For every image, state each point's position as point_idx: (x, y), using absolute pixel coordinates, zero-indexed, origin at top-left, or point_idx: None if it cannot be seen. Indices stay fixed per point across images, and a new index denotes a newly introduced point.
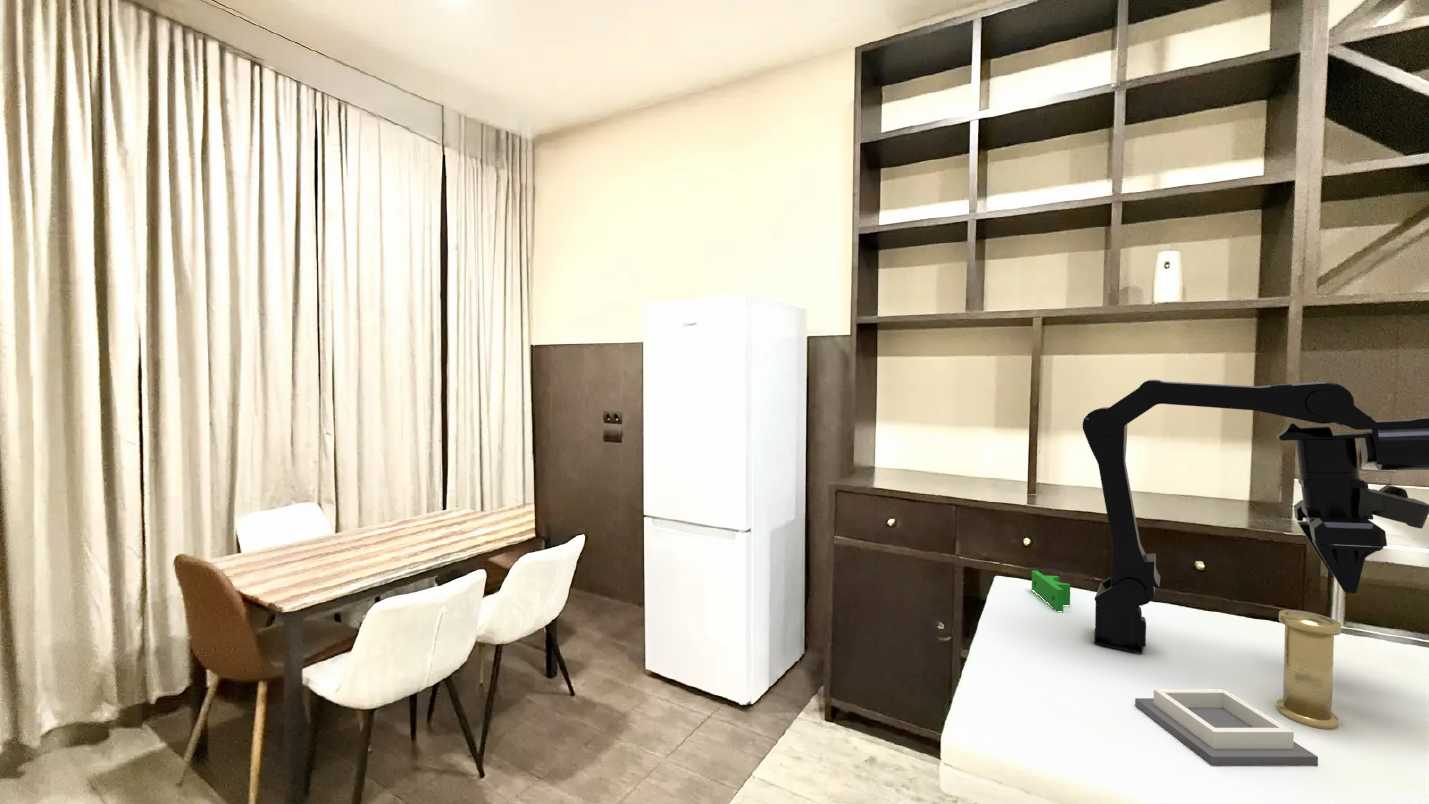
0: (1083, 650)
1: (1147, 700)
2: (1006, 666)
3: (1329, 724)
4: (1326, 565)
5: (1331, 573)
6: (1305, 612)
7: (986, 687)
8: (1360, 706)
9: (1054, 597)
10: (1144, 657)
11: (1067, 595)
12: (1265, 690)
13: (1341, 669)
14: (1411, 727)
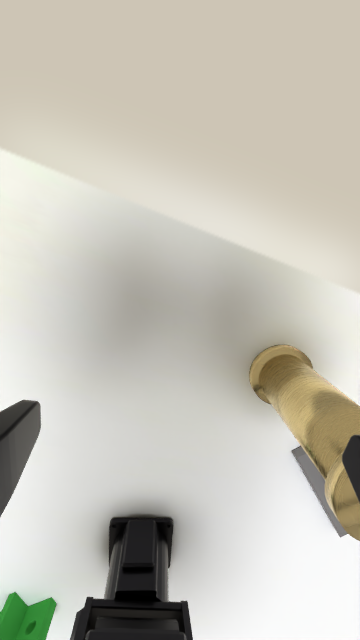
0: (196, 571)
1: (340, 527)
2: (290, 627)
3: (309, 361)
4: (16, 480)
5: (38, 432)
6: (350, 495)
7: (351, 633)
8: (207, 297)
9: (29, 632)
10: (178, 514)
11: (6, 622)
12: (215, 399)
13: (52, 272)
14: (249, 257)
